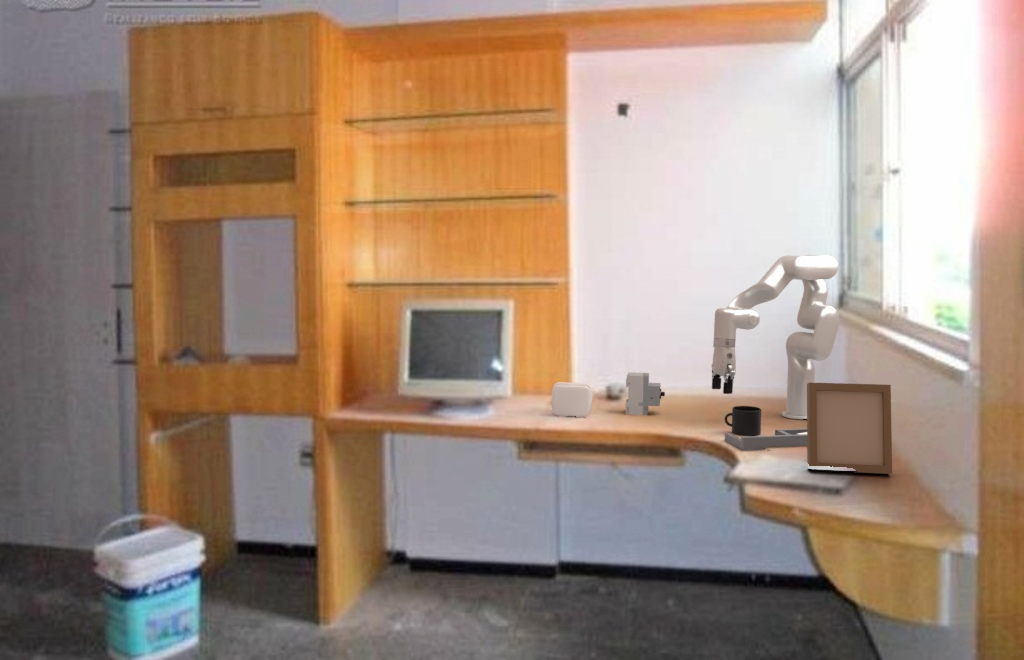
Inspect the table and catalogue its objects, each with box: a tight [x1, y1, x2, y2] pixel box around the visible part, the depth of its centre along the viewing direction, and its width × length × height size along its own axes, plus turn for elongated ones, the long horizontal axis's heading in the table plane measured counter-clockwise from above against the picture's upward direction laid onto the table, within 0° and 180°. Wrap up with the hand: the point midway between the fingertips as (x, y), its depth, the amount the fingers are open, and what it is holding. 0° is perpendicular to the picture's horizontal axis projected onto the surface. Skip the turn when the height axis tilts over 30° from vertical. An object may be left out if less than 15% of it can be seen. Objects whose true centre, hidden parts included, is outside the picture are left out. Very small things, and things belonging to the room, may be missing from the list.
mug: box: [724, 405, 762, 437], centre depth 287 cm, size 9×12×9 cm
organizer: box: [724, 427, 807, 451], centre depth 274 cm, size 31×14×4 cm, turn 100°
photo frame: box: [806, 382, 893, 475], centre depth 243 cm, size 15×22×25 cm
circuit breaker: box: [625, 372, 666, 416], centre depth 321 cm, size 8×14×15 cm, turn 78°
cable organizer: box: [551, 381, 593, 418], centre depth 320 cm, size 15×11×12 cm
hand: (721, 391), depth 302 cm, fingers open, 9 cm apart
